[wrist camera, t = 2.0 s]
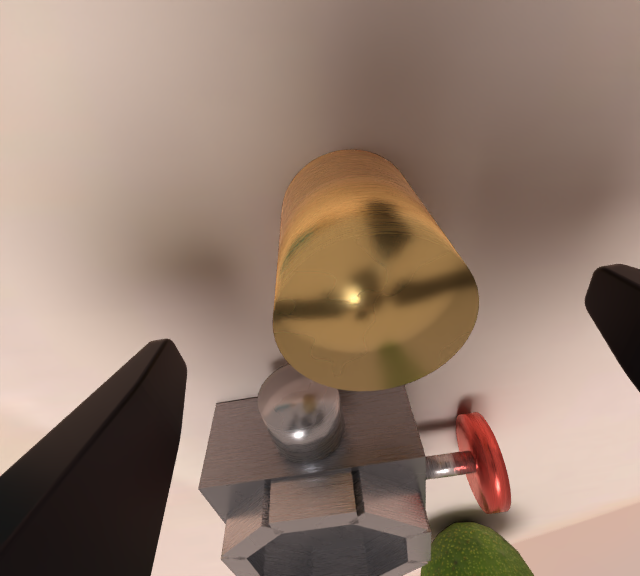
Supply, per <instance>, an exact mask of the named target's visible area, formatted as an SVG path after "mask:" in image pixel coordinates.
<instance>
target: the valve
mask: <svg viewBox="0 0 640 576" xmlns="http://www.w3.org/2000/svg"><path fill="white" fill-rule="evenodd" d="M456 434H457V441H458V447H459V452H454V453H447V454H440V455H433V456H426V457H425V453H424V450H423V447H422V443H421V440H420V437H419V433H418V430H417V427H416V423H415V420H414V417H413V413H412V410H411V407H410V403H409V400H408V397H407V393H406V390H405V387H404V385H401V386H398V387H394V388H389V389H384V390H376V391H348V390H341V389H336V388H332V387H328V386H325V385H322V384H319V383H317V382H315V381H313V380H311V379H308V378H307V377H305V376H304V375H302V374H301V373H299V372H298V371H297V370H295V369H294V368H293V367H292V366H291V365H290V364H288V365H286V366H283V367H281V368H279V369H278V370H276V371H275V372H274V373H272V374H271V375H270V376H269V377H268V378H267V379H266V380H265V382H264V383H263V385H262V387H261V389H260V391H259V394H258V397H257V398H251V399H244V400H238V401H231V402H225V403H218V404H216V408H215V413H214V417H213V422H212V427H211V431H210V436H209V441H208V446H207V450H206V455H205V460H204V464H203V469H202V474H201V479H200V483H199V488H198V489H199V490H200V492H201V493H202V494H203V496H204V497H205V498H206V499H207V501H208V502H209V503H210V505H211V506H212V507H213V509H214V510H215V511H216V512H217V514H218V515H219V516H220V518H221V519H222V520H223V521H224V523H225V524H226V527H225V534H224V541H223V548H222V555H221V560H222V561H223V562H224V563H225V565H226V566H227V567H228V568H229V569H230V570H231V571H232V572H233V573H234V574H235V575H236V576H403V575H405V574H407V573H409V572H411V571H413V570H416V569H418V568H420V567H422V566H424V565H426V564H428V563H427V561H431V529H430V525H429V521H428V518H427V514H426V510H425V503H426V480H427V479H434V478H441V477H448V476H456V475H463V474H466V476H467V479H468V482H469V485H470V487H471V490H472V492H473V494H474V496H475V498H476V500H477V502H478V504H479V506H480V507H481V508H482V510H483V511H484V512H485V513H487V514H492V513H499V512H506V511H508V510H509V509H510V505H511V492H510V484H509V479H508V474H507V470H506V466H505V463H504V460H503V457H502V454H501V451H500V448H499V446H498V443H497V441H496V438H495V436H494V434H493V432H492V430H491V428H490V426H489V425H488V423H487V422H486V420H485V419H484V418H483V416H482V415H481V414H479V413H477V412H473V413H466V414H459V415H458V416H457V419H456Z"/></svg>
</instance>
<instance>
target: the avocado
mask: <svg viewBox="0 0 640 576" xmlns="http://www.w3.org/2000/svg"><path fill="white" fill-rule="evenodd" d="M427 563H428V564H426V565H424V566H422V568H421V576H534V575H533V573H532V572H531V570H530V569H529V567H528V566H527V564H526V563H525V561H524V560H523V558H522V557H521V556H520V554H519V552H518V551H517V550H516V549H515V548H514V547H513V546H512V545H510V544H509V543H508V542H507V541H506V540H505V539H504V538H503V537H502V536H500V535H499V534H498V533H496V532H495V531H494V530H492V529H491V528H489V527H486V526H484V525H481V524H478V523H475V522H461V523H453V524H452V525H450V526H449V527H447V528H446V529H444V530H443V531H442V532H440V533H439V534H438V535H437V537H436V538H435V539H434V541H433V542H432V544H431V561H427Z"/></svg>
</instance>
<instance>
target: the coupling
mask: <svg viewBox="0 0 640 576" xmlns="http://www.w3.org/2000/svg"><path fill="white" fill-rule="evenodd" d="M478 309H479V295H478V289H477V285H476V283H475V280H474V277H473V276H472V274H471V272H470V270H469V269H468V267H467V266H466V264H465V263H464V261H463V260H462V259H461V257H460V256H459V254H458V253H457V252H456V250H455V249H454V247H453V246H452V244H451V243H450V242H449V240H448V239H447V237H446V236H445V235H444V233H443V232H442V230H441V229H440V228H439V226H438V225H437V223H436V222H435V220H434V219H433V218H432V216H431V215H430V213H429V212H428V211H427V209H426V208H425V206H424V205H423V204H422V202H421V201H420V199H419V198H418V196H417V195H416V194H415V192H414V191H413V189H412V188H411V187H410V185H409V184H408V182H407V181H406V180H405V178H404V177H403V175H402V174H401V173H400V172H399V170H398V169H397V168H396V167H395V166H394V165H393V164H392V163H390V162H389V161H387V160H386V159H384V158H383V157H381V156H379V155H377V154H374V153H371V152H367V151H362V150H339V151H335V152H331V153H328V154H325V155H323V156H320V157H318V158H317V159H315V160H313V161H311V162H310V163H309V164H307V165H306V166H305V167H304V168H303V169H302V170H301V171H300V172H299V173H298V174H297V175H296V176H295V177H294V179H293V180H292V182H291V183H290V185H289V187H288V189H287V191H286V194H285V196H284V200H283V204H282V214H281V226H280V238H279V251H278V263H277V275H276V288H275V300H274V312H273V332H274V337H275V341H276V343H277V346H278V348H279V350H280V352H281V353H282V355H283V356H284V358H285V359H286V360H287V362H288V363H289V364H290V365H291V366H292V367H293V368H294V369H295V370H297V371H298V372H299V373H301V374H302V375H304V376H305V377H307V378H308V379H311V380H313V381H315V382H317V383H319V384H322V385H325V386H328V387H332V388H336V389H341V390H348V391H376V390H384V389H389V388H394V387H398V386H401V385H405V384H408V383H410V382H413V381H416V380H418V379H420V378H422V377H424V376H426V375H428V374H430V373H431V372H433V371H435V370H436V369H438V368H439V367H441V366H442V365H443V364H445V363H446V362H447V361H448V360H449V359H451V358H452V357H453V356H454V355H455V354H456V353H457V352H458V351H459V349H460V348H461V347H462V346H463V344H464V343H465V342H466V340H467V339H468V337H469V335H470V333H471V332H472V330H473V327H474V325H475V322H476V319H477V315H478Z"/></svg>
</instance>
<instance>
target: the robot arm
mask: <svg viewBox="0 0 640 576" xmlns="http://www.w3.org/2000/svg"><path fill="white" fill-rule="evenodd" d="M585 306H586V309H587V311H588V313H589V314H590V316H591V318H592V319H593V321H594V323H595V324H596V326H597V328H598V329H599V331H600V333H601V334H602V336H603V338H604V339H605V341H606V343H607V344H608V346H609V348H610V349H611V351H612V353H613V354H614V356H615V357H616V359H617V361H618V362H619V364H620V365H621V367H622V369H623V370H624V372H625V373H626V374H627V376H628V377H629V379H630V380H631V381H632V383H633V384H634V385H635V387H636V388H637V389H638V391H639V392H640V269H637V268H634V267H630V266H627V265H623V264H614V265H608V266H602V267H599V268H597V269H596V270H595V271H594V273H593V275H592V278H591V281H590V284H589V287H588V290H587V293H586V296H585ZM186 380H187V367H186V364H185V361H184V360H183V358H182V356H181V355H180V353H179V351H178V349H177V348H176V346H175V344H174V343H173V341H172V340H170V339H161V340H155V341H151V342H149V343H148V344H147V345H146V346H145V347H144V348H142V349H141V350H140V351H139V352H138V353H137V354H136V355H135V356H134V357H132V358H131V359H130V360H129V361H128V362H127V363H126V364H125V365H124V366H122V367H121V368H120V369H119V370H118V371H117V372H116V373H115V374H114V375H112V376H111V377H110V378H109V379H108V380H107V381H106V382H105V383H104V384H102V385H101V386H100V387H99V388H98V389H97V390H96V391H95V392H94V393H92V394H91V395H90V396H89V397H88V398H87V399H86V400H85V401H84V402H82V403H81V404H80V405H79V406H78V407H77V408H76V409H75V410H73V411H72V412H71V413H70V414H69V415H68V416H67V417H66V418H65V419H63V420H62V421H61V422H60V423H59V424H58V425H57V426H56V427H55V428H53V429H52V430H51V431H50V432H49V433H48V434H47V435H46V436H45V437H43V438H42V439H41V440H40V441H39V442H38V443H37V444H36V445H35V446H33V447H32V448H31V449H30V450H29V451H28V452H27V453H26V454H25V455H23V456H22V457H21V458H20V459H19V460H18V461H17V462H16V463H15V464H13V465H12V466H11V467H10V468H9V469H8V470H7V471H6V472H5V473H3V474H2V475H1V476H0V576H151V571H152V567H153V562H154V558H155V553H156V548H157V544H158V539H159V535H160V530H161V525H162V521H163V516H164V512H165V507H166V502H167V498H168V493H169V488H170V484H171V479H172V475H173V470H174V465H175V461H176V456H177V452H178V447H179V441H180V436H181V428H182V419H183V409H184V399H185V390H186Z"/></svg>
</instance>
